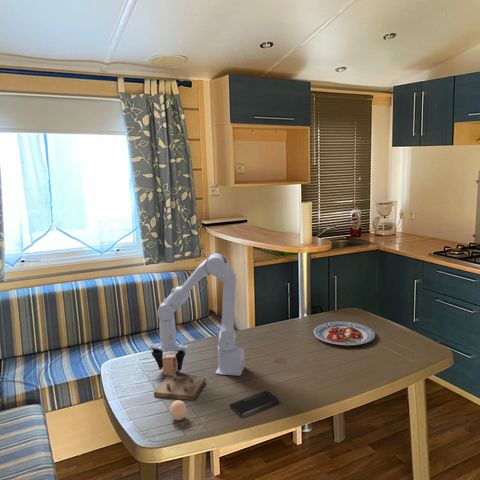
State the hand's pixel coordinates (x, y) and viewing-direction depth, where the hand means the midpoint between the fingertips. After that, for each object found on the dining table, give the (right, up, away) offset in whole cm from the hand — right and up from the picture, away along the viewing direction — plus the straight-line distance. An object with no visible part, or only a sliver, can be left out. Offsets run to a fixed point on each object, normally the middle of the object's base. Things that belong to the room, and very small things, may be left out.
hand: (170, 368), depth 161 cm
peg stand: (+5, -3, -12) cm, 14 cm away
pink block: (0, -1, 0) cm, 2 cm away
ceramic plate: (+71, +6, +27) cm, 76 cm away
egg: (+7, -7, -30) cm, 31 cm away
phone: (+31, -5, -23) cm, 39 cm away
